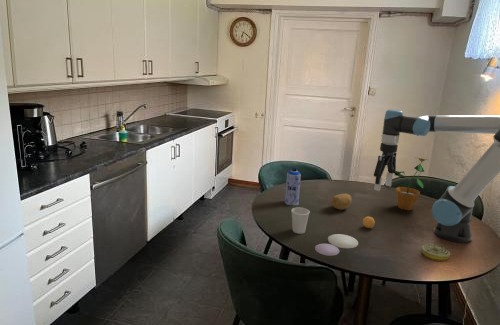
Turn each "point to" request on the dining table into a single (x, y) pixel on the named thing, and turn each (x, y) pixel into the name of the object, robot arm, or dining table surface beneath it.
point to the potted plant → (409, 190)
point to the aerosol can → (292, 187)
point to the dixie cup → (299, 219)
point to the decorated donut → (435, 252)
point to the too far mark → (327, 249)
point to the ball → (368, 222)
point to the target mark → (342, 241)
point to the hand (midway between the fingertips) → (382, 187)
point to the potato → (341, 201)
